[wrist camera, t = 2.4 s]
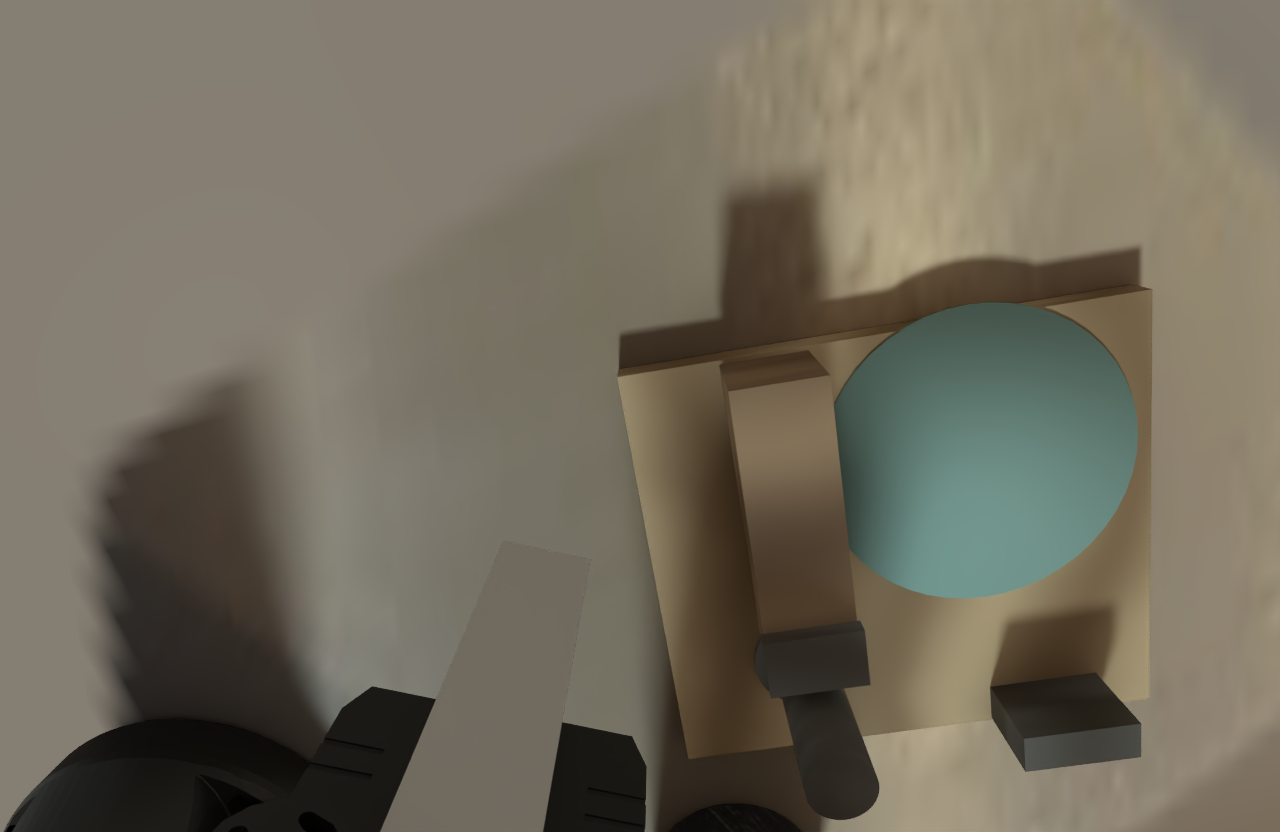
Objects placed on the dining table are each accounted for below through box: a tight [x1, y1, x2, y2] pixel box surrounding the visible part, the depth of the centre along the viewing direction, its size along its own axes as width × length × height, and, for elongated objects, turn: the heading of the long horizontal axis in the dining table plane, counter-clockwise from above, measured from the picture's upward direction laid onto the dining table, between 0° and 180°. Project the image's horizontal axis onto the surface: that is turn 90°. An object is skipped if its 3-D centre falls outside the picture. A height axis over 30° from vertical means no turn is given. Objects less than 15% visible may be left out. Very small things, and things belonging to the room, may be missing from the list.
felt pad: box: [834, 302, 1138, 598], centre depth 28 cm, size 11×11×1 cm
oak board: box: [617, 285, 1152, 820], centre depth 27 cm, size 18×16×8 cm
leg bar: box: [719, 350, 871, 699], centre depth 26 cm, size 10×3×4 cm, turn 10°
